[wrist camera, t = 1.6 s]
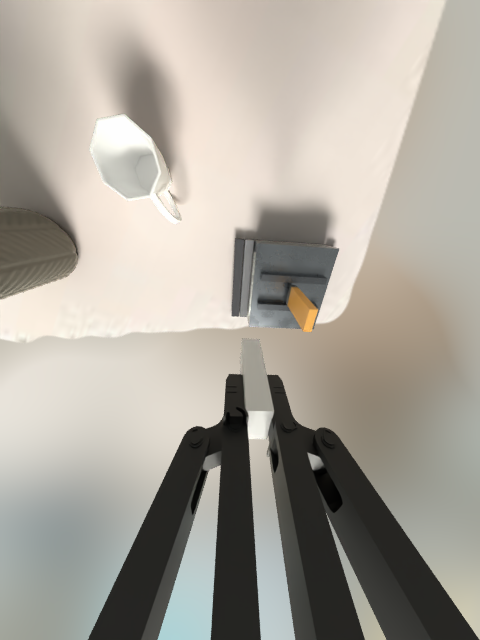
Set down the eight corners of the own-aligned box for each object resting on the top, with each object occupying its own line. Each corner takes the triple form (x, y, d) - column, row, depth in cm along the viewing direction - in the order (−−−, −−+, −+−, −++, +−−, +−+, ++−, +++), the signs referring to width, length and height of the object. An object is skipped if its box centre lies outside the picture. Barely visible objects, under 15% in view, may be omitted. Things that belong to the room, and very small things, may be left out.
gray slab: (235, 238, 29) (235, 239, 28) (253, 239, 29) (253, 240, 28) (231, 312, 36) (231, 316, 35) (246, 313, 36) (246, 316, 35)
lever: (288, 284, 27) (308, 309, 20) (296, 285, 27) (319, 309, 20) (285, 302, 29) (302, 331, 21) (292, 302, 29) (312, 331, 21)
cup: (157, 130, 23) (122, 90, 16) (203, 208, 27) (192, 205, 20) (119, 165, 24) (72, 144, 17) (168, 234, 29) (146, 239, 22)
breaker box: (253, 239, 29) (257, 244, 24) (324, 244, 30) (343, 249, 25) (246, 313, 36) (248, 330, 31) (304, 316, 37) (315, 332, 32)
